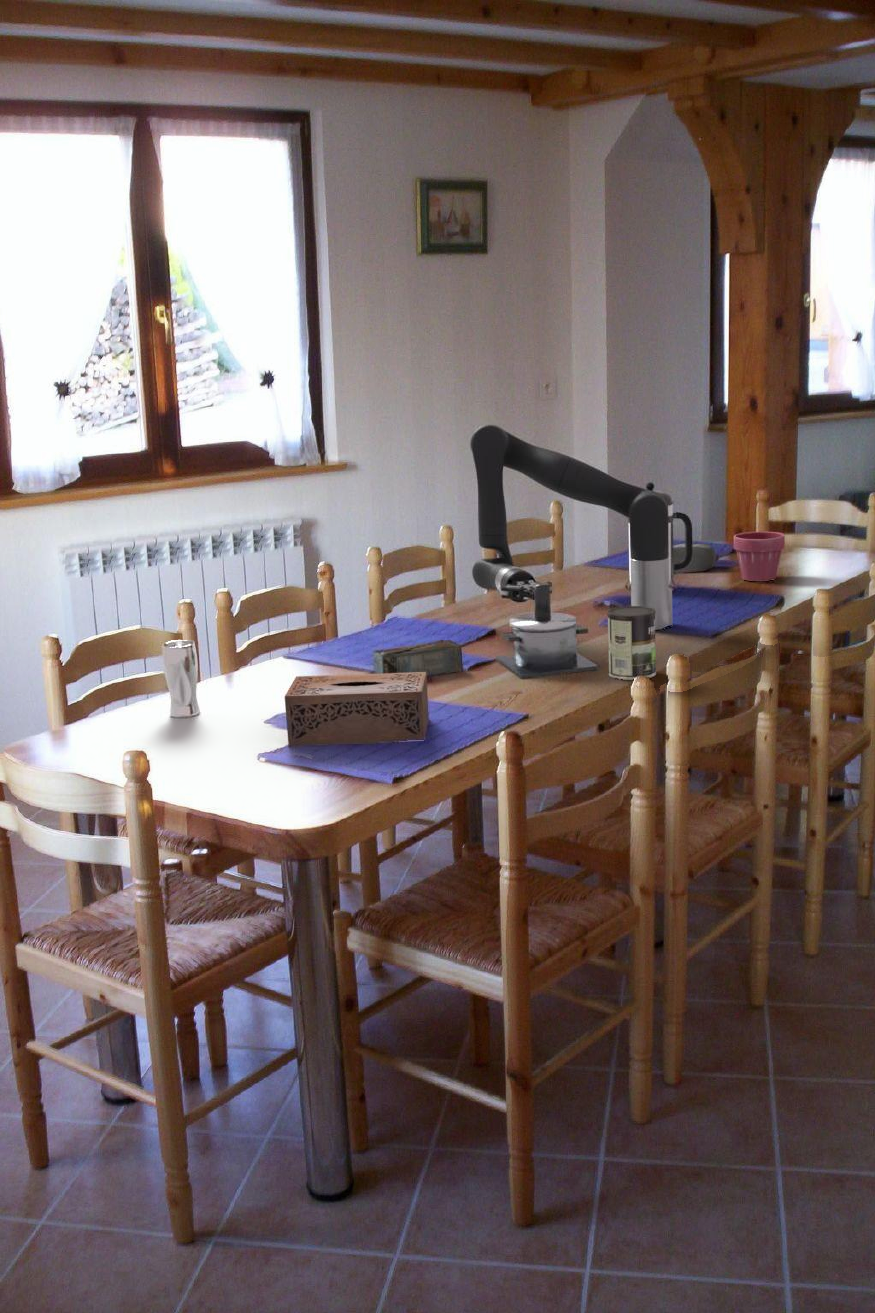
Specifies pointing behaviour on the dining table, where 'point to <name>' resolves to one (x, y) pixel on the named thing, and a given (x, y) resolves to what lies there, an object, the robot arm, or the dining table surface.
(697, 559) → the grey dish
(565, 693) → the dining table surface
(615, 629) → the coffee can
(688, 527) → the coffee press
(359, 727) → the tissue box cover
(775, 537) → the plant pot
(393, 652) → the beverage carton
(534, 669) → the pot
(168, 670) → the crushed soda can
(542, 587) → the lid
